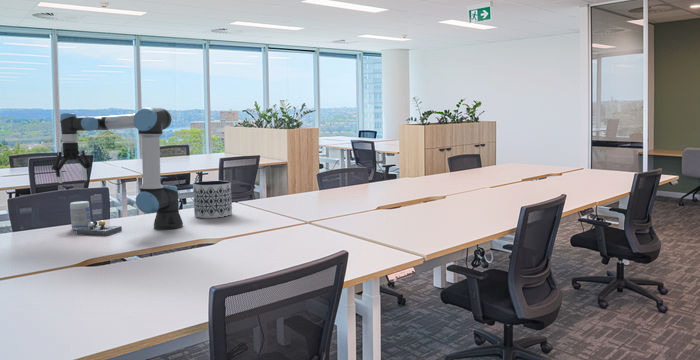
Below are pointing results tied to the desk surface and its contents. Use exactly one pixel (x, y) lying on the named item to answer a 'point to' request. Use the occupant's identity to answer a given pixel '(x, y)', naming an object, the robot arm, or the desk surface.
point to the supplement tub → (80, 214)
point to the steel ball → (91, 225)
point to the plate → (99, 230)
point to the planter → (212, 199)
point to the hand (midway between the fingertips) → (73, 181)
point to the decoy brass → (101, 223)
